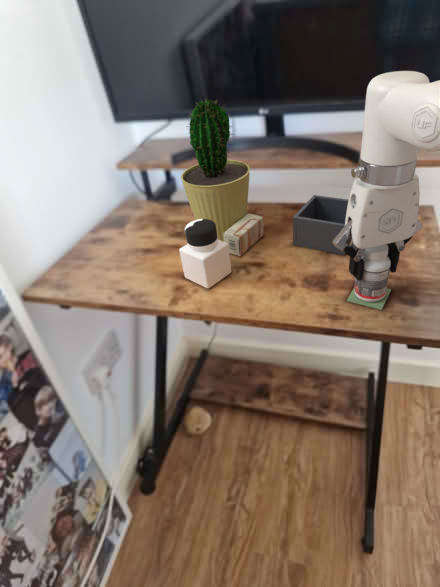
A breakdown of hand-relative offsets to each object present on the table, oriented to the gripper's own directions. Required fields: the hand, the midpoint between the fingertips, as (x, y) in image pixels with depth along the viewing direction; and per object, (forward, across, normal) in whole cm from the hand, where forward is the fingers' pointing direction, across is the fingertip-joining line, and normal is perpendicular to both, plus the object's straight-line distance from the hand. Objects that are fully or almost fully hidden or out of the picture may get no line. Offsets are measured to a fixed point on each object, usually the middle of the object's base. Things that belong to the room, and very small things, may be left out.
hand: (372, 271), depth 69 cm
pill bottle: (+5, 0, 0) cm, 5 cm away
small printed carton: (+3, -20, +23) cm, 31 cm away
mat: (+5, 0, 0) cm, 5 cm away
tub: (+5, +2, +22) cm, 23 cm away
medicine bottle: (+6, -26, +18) cm, 32 cm away
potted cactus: (+6, -19, +35) cm, 40 cm away
